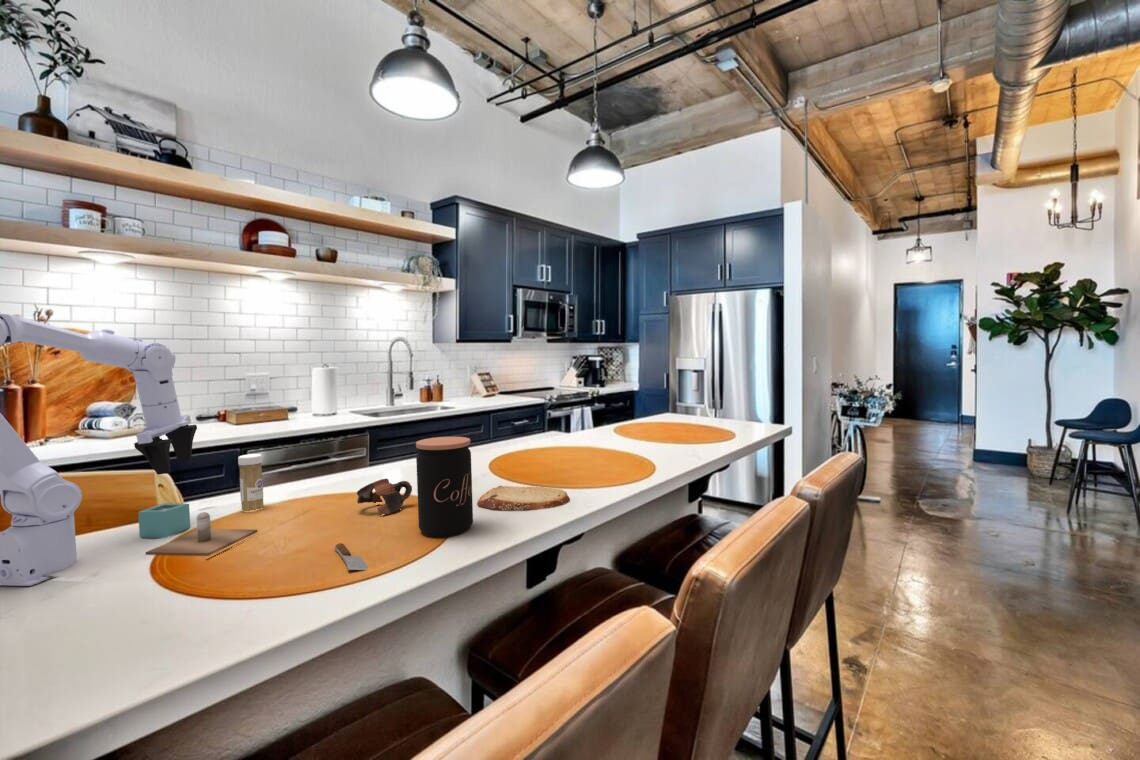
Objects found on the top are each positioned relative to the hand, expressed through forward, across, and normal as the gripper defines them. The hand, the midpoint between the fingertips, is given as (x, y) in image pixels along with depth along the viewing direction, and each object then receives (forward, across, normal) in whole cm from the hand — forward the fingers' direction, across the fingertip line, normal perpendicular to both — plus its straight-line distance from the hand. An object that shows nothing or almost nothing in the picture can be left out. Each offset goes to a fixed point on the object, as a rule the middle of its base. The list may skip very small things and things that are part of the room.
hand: (174, 466), depth 103 cm
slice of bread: (+20, 0, -70) cm, 73 cm away
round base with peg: (+13, -5, +2) cm, 14 cm away
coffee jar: (+16, -15, -54) cm, 58 cm away
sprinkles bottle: (+16, +7, -9) cm, 19 cm away
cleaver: (+14, -26, -39) cm, 49 cm away
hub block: (+12, -13, -10) cm, 21 cm away
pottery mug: (+17, +2, -39) cm, 43 cm away
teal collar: (+12, -5, +2) cm, 13 cm away
